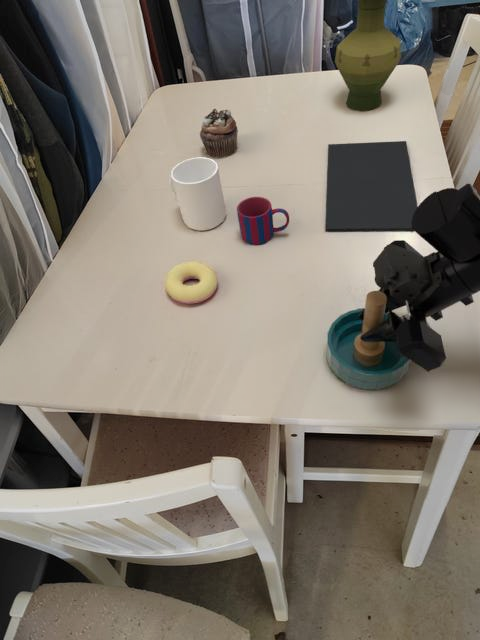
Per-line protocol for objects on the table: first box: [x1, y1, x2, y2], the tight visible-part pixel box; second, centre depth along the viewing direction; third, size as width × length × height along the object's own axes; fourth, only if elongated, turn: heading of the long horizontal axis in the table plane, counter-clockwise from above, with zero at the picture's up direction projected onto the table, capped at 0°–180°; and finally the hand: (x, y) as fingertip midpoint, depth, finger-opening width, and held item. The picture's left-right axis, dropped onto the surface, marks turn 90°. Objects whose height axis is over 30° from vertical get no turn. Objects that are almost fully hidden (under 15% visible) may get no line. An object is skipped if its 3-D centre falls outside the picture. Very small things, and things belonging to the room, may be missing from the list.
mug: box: [169, 156, 227, 231], centre depth 92 cm, size 10×12×12 cm
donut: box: [164, 260, 219, 305], centre depth 82 cm, size 10×5×9 cm
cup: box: [236, 196, 290, 246], centre depth 87 cm, size 7×10×7 cm
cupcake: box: [199, 108, 239, 159], centre depth 110 cm, size 10×10×10 cm
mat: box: [324, 140, 419, 233], centre depth 96 cm, size 18×32×1 cm, turn 172°
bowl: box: [326, 307, 411, 390], centre depth 67 cm, size 12×12×4 cm
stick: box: [353, 290, 387, 367], centre depth 63 cm, size 4×4×13 cm
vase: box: [334, 0, 402, 112], centre depth 109 cm, size 16×16×30 cm
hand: (361, 328), depth 63 cm, fingers open, 4 cm apart
